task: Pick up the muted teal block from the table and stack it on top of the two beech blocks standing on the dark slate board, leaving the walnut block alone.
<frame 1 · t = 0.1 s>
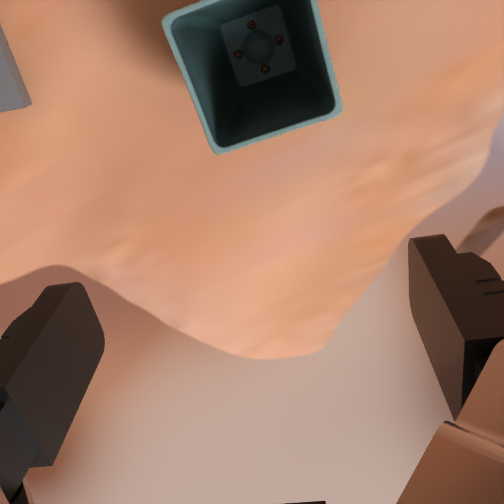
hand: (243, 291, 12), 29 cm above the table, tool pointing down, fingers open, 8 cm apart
flower pot: (259, 47, 36), on the table
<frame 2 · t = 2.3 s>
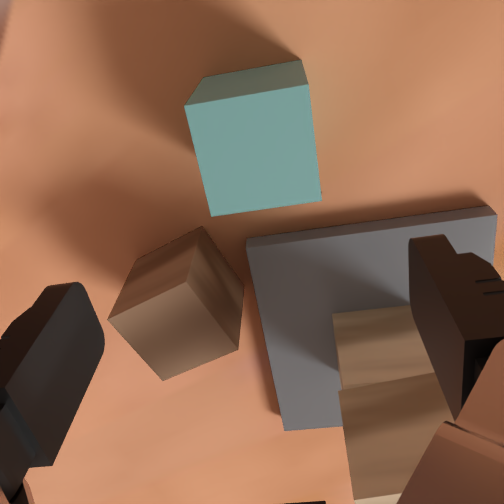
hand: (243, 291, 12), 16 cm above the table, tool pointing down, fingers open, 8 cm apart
tower top block: (393, 414, 26), point 7 cm above the table, touching tower base block
slate board: (371, 327, 32), on the table
teal block: (260, 117, 25), on the table
walnut block: (190, 273, 30), on the table
tower base block: (374, 339, 31), point 1 cm above the table, touching slate board, tower top block
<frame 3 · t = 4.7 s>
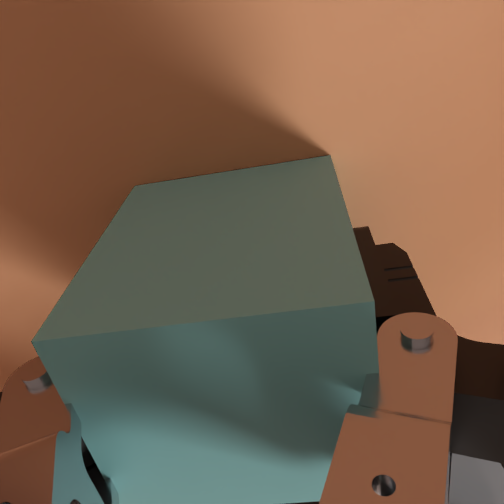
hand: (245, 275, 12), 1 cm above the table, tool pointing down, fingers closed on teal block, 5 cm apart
teal block: (248, 255, 13), on the table, touching gripper
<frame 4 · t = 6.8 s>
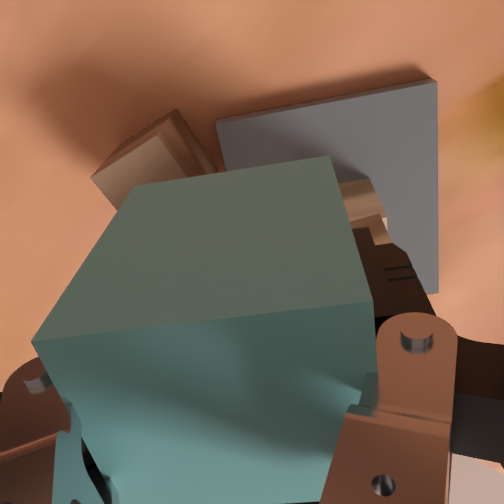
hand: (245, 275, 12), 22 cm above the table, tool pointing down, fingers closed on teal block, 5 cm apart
tower top block: (347, 260, 29), point 7 cm above the table, touching tower base block
slate board: (334, 208, 35), on the table
teal block: (247, 255, 13), point 21 cm above the table, touching gripper
walnut block: (168, 157, 34), on the table
tower base block: (336, 216, 34), point 1 cm above the table, touching slate board, tower top block
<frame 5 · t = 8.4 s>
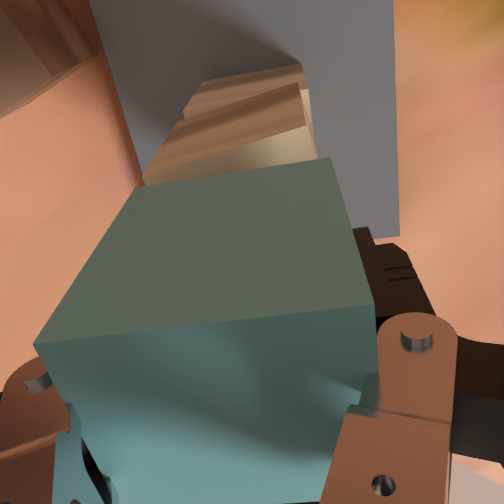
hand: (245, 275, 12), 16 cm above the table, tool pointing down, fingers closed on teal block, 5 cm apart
tower top block: (255, 160, 20), point 7 cm above the table, touching tower base block
slate board: (260, 115, 26), on the table
teal block: (248, 257, 13), point 15 cm above the table, touching gripper
walnut block: (30, 35, 25), on the table
tower base block: (259, 121, 25), point 1 cm above the table, touching slate board, tower top block
when the fingers open (16 cm above the table, at t = 9.3 s): teal block drops 1 cm, resting on tower top block.
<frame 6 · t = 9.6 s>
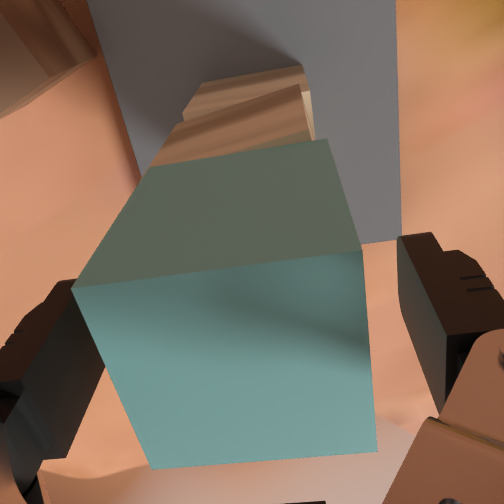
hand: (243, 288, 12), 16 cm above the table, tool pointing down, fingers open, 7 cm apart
tower top block: (256, 163, 20), point 7 cm above the table, touching teal block, tower base block
slate board: (260, 117, 26), on the table
teal block: (252, 232, 14), point 13 cm above the table, touching tower top block
walnut block: (27, 36, 24), on the table
tower base block: (260, 123, 25), point 1 cm above the table, touching slate board, tower top block
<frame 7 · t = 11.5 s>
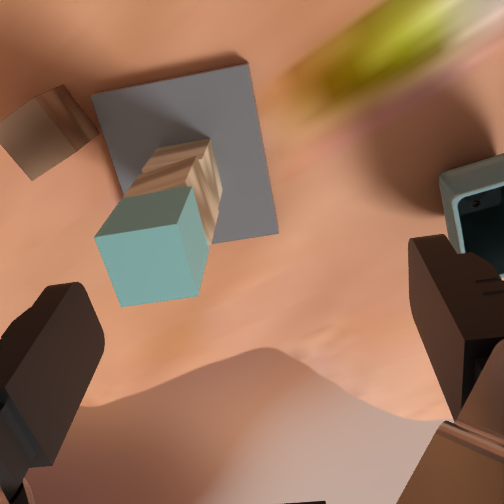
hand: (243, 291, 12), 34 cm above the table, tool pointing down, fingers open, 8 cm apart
tower top block: (179, 193, 39), point 7 cm above the table, touching teal block, tower base block
slate board: (192, 165, 45), on the table
flower pot: (472, 187, 46), on the table
teal block: (166, 224, 34), point 13 cm above the table, touching tower top block
walnut block: (61, 123, 44), on the table
tower base block: (190, 169, 44), point 1 cm above the table, touching slate board, tower top block
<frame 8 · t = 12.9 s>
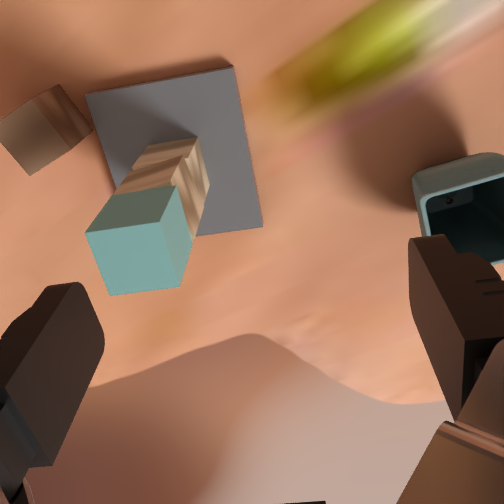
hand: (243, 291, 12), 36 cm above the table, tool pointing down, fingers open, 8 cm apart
tower top block: (167, 189, 42), point 7 cm above the table, touching teal block, tower base block
slate board: (181, 161, 48), on the table
flower pot: (446, 185, 48), on the table
teal block: (153, 220, 37), point 13 cm above the table, touching tower top block
walnut block: (57, 120, 47), on the table
tower base block: (179, 165, 47), point 1 cm above the table, touching slate board, tower top block
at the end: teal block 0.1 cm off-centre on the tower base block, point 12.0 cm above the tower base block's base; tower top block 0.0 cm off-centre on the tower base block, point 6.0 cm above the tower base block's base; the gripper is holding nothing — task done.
